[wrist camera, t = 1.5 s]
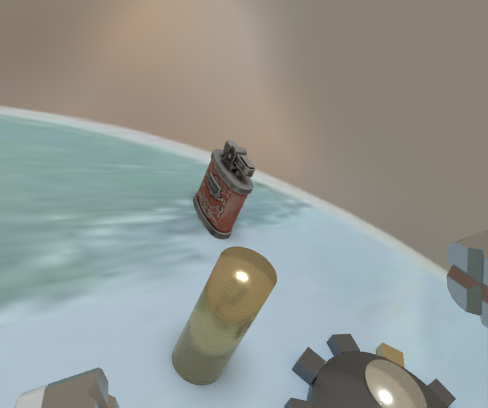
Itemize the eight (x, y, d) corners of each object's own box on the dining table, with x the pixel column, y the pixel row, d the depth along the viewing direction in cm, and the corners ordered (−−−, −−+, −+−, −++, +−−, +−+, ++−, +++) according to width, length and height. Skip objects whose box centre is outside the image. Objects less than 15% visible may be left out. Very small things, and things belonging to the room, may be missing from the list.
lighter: (187, 196, 55) (214, 129, 50) (210, 197, 56) (238, 133, 51) (210, 239, 49) (243, 169, 44) (234, 239, 51) (269, 171, 46)
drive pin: (163, 368, 34) (210, 271, 28) (184, 330, 37) (229, 238, 32) (212, 394, 33) (269, 302, 28) (228, 353, 37) (281, 265, 32)
